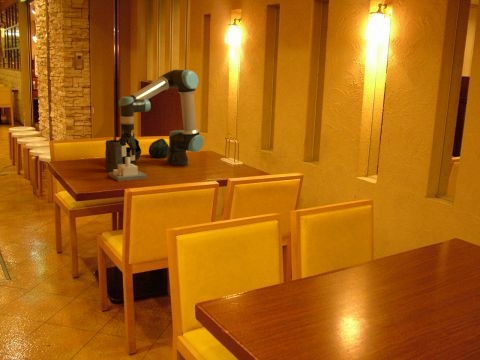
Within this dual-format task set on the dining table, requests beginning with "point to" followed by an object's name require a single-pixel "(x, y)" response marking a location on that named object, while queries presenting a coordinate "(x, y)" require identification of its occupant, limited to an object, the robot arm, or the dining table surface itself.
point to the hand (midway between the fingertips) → (128, 158)
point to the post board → (129, 177)
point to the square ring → (126, 170)
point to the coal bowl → (137, 152)
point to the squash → (159, 149)
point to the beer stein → (113, 155)
